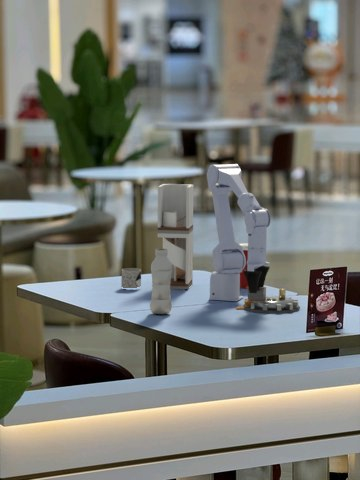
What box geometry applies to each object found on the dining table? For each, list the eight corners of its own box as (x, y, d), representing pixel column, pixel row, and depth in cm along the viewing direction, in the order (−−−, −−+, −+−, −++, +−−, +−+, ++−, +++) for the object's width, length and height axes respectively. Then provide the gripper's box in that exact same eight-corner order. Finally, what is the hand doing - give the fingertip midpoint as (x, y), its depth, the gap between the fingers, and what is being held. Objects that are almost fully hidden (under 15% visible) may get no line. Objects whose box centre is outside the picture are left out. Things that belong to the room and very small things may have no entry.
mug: (140, 290, 416) (140, 271, 415) (120, 290, 416) (120, 271, 415) (141, 285, 426) (141, 266, 425) (122, 285, 426) (122, 266, 425)
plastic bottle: (149, 312, 379) (149, 247, 376) (171, 311, 379) (171, 247, 377) (150, 316, 372) (150, 250, 370) (172, 316, 373) (173, 250, 370)
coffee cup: (258, 290, 420) (259, 246, 418) (234, 289, 421) (235, 245, 419) (261, 286, 428) (262, 243, 426) (238, 285, 429) (239, 242, 427)
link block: (247, 300, 385) (248, 287, 385) (250, 298, 388) (250, 285, 387) (263, 301, 384) (263, 288, 383) (265, 299, 386) (266, 286, 386)
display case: (162, 283, 431) (163, 183, 426) (192, 284, 429) (193, 184, 425) (157, 289, 420) (157, 186, 415) (188, 290, 418) (189, 187, 414)
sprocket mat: (232, 310, 382) (232, 308, 382) (248, 301, 399) (248, 298, 399) (292, 315, 376) (292, 312, 376) (305, 305, 393) (305, 302, 393)
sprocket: (272, 312, 375) (272, 297, 374) (233, 304, 388) (233, 290, 387) (309, 306, 386) (309, 291, 386) (270, 298, 399) (270, 284, 398)
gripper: (263, 251, 376) (262, 295, 377) (275, 245, 389) (274, 288, 391) (241, 250, 378) (240, 294, 380) (253, 244, 391) (253, 286, 393)
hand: (256, 290), depth 385 cm, fingers open, 7 cm apart
